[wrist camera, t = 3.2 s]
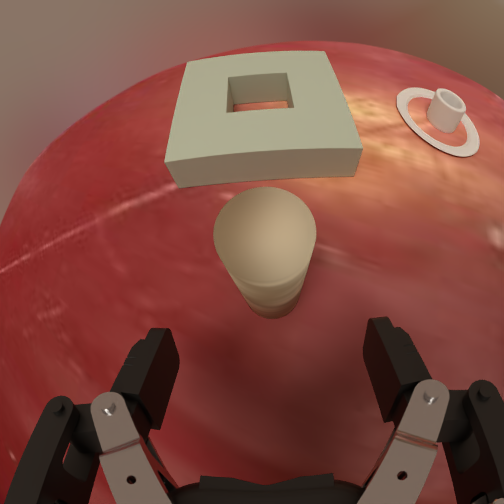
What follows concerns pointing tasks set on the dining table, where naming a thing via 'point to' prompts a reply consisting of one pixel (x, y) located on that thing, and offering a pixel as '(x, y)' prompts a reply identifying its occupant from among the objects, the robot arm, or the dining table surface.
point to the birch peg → (266, 247)
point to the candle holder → (441, 118)
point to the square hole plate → (261, 121)
